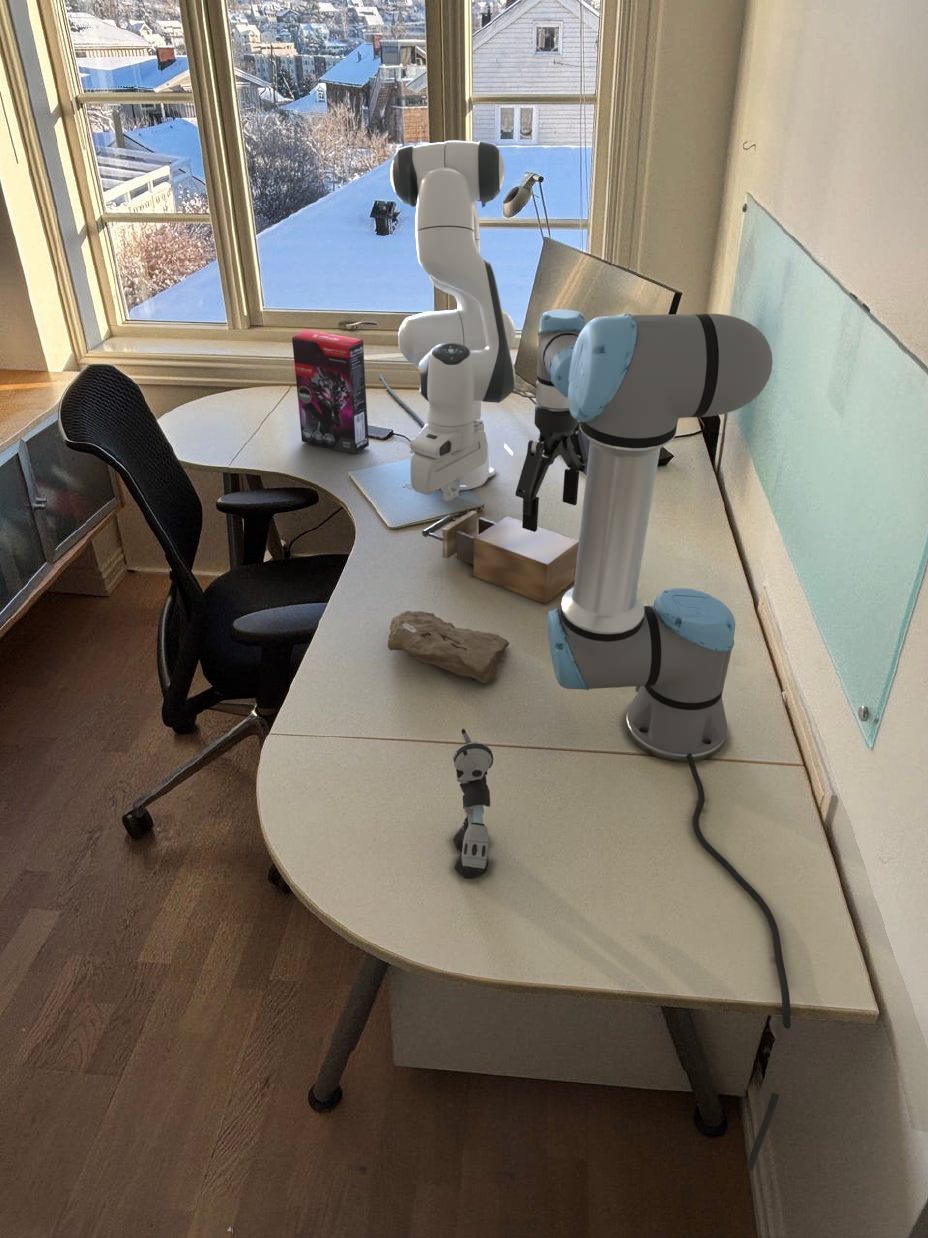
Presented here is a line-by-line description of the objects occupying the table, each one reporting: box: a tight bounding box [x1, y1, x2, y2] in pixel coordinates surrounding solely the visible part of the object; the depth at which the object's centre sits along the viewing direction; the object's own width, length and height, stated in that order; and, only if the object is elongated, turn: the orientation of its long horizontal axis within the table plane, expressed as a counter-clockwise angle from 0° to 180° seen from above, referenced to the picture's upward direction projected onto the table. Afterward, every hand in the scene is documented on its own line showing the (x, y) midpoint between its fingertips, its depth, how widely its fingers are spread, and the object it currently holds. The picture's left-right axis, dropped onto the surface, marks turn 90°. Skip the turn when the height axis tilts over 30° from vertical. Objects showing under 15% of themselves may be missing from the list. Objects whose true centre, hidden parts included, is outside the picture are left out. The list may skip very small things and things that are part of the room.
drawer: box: [421, 510, 497, 566], centre depth 184 cm, size 21×10×6 cm, turn 53°
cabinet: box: [472, 515, 579, 605], centre depth 178 cm, size 17×11×9 cm
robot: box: [452, 728, 494, 879], centre depth 116 cm, size 20×5×20 cm, turn 3°
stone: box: [387, 610, 510, 685], centre depth 156 cm, size 21×15×6 cm
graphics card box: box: [291, 329, 370, 455], centre depth 226 cm, size 17×7×27 cm, turn 62°
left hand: (450, 498), depth 183 cm, fingers closed
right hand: (550, 515), depth 170 cm, fingers open, 13 cm apart
